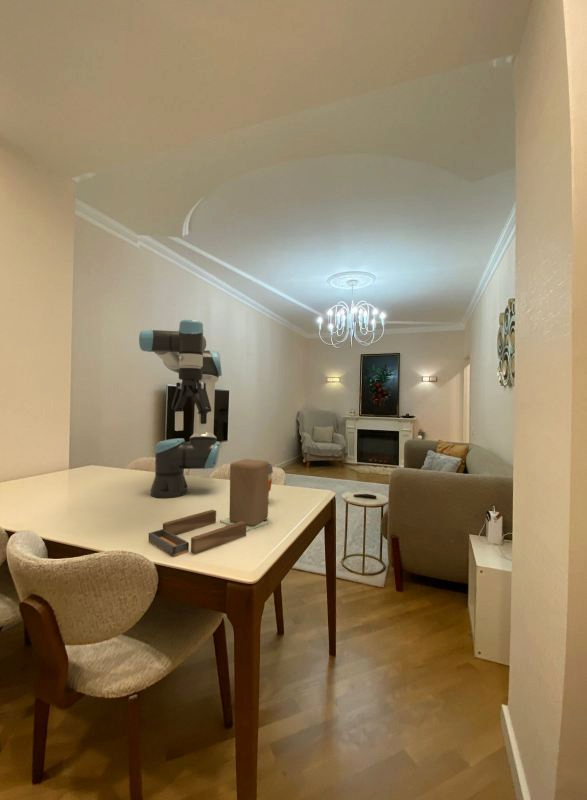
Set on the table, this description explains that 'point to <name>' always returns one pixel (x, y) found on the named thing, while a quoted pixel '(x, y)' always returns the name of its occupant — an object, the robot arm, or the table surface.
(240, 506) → the block
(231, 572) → the table surface
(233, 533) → the alley
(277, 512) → the table surface
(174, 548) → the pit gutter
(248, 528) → the pad
